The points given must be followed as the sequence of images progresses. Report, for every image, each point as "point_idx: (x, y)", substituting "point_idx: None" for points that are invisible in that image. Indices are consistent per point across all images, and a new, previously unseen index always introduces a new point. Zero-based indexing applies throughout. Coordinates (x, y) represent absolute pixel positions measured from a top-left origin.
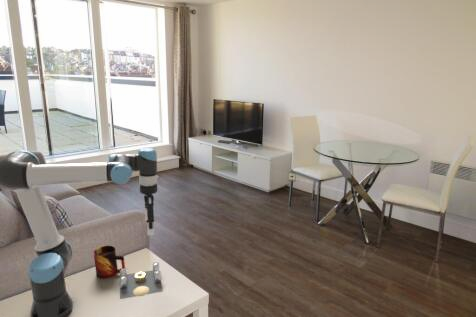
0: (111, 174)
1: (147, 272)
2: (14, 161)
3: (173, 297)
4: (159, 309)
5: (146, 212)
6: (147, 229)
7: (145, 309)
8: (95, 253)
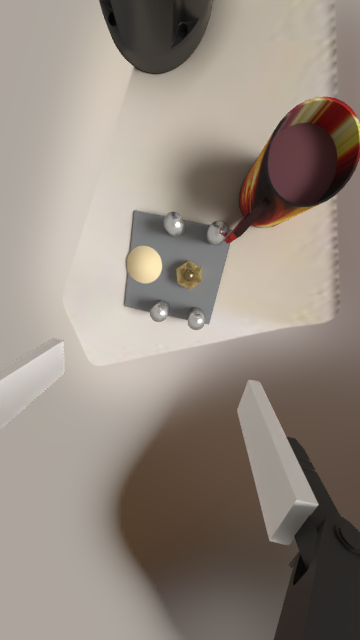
0: None
1: (210, 297)
2: None
3: (101, 318)
4: (75, 283)
5: (273, 463)
6: (17, 360)
7: (83, 257)
8: (334, 118)
